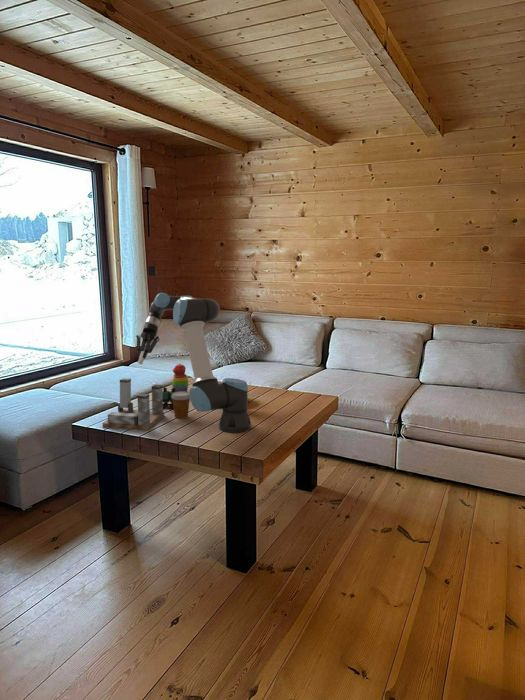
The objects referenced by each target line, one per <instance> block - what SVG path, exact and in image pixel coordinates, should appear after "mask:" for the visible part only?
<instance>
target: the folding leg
mask: <svg viewBox="0 0 525 700" xmlns="http://www.w3.org/2000/svg"><path fill="white" fill-rule="evenodd" d="M131 402H132V378H121V379H119V403H120V408H123V409H128V404H130V403H131Z"/></svg>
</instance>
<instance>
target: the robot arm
mask: <svg viewBox="0 0 525 700" xmlns="http://www.w3.org/2000/svg"><path fill="white" fill-rule="evenodd" d="M165 311H172V318H173V323H174V324H175V325H179V327H180V328H179V329H180V330H181V331H182V332H183V333H184V336H185V341H186V346H187V350H188V351H187V352H188V355H189V360H190V364H191V368H192V373H193V379H194V381H193V382H192V387H191V388H190V389H189V393H190V400H189V401H190V403H191V405H192V406H193V408H194V409H195V410H196V411H198V412H200V413H203V412H210V411H216V410H217V411H218V410H220V409H221V410H222V412H221V414H220V415H221V416H220V419H219V421H218V429H219V430H221V431H223V432H225V431H227V432H226V433H233V432H236V433H244V432H247V431H249V430H250V429H251V428H252V422H251V418H250V416H249V413H248V397H249V395H248V394H249V393H248V392H249V390H248V383H247V381H245V380H243V379H241V378H240V379H239V378H234V377H233V378H231V377H227V378H223V379H222V382H220V383H219V381H218V378H217V377H215V376H214V375H213V374H214V373H213V369H212V364H211V361H210V357H209V351H208V347H207V343H206V338H205V333H204V329H203V328H204V326H205V325H206V323H210V322H213V321H215V320H216V319H217V318H218V317H219V316H220V311H221V308H220V305H219V303H218V302H217V301H216V300H215V299H212V298H205V297H204V298H195V297H193V296H192V295H169V294H167V293H165V292H160V293H158V294H157V295H156V296H155V297H154V300H153V302H152V303H151V304H150V307H149V310H148V313H147V317H146V320H145V322H144V325H143V329H142V332H141V334H139V335H138V334H136V335H135V337H136V351H137V353H138V356H137V357H138V360H137V363H138V364H139V365H143V363H144V359H146V358H147V355H148V354H152V352H153V350H154V348H155V346H156V345H157V344H158V342H159V341H160V340H161V339H160V337H159V336H158V335H157V334H158V331H159V330H158V329H159V326H160V323H161V320H162V317H163V314H164V312H165ZM141 340H142V341H141ZM246 430H247V431H246ZM243 431H244V432H243Z"/></svg>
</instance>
